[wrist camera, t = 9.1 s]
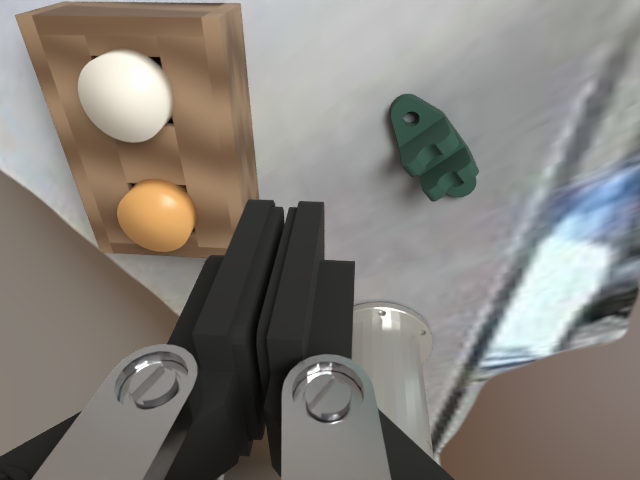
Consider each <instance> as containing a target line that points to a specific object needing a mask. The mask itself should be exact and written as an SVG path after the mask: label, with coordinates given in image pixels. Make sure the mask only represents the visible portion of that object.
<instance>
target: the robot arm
mask: <svg viewBox="0 0 640 480" xmlns="http://www.w3.org/2000/svg"><path fill="white" fill-rule="evenodd" d="M354 275H355V261H335V260H324V202H309V201H299V203H298V207H290V208H289V210H288V214H287V218H286V222H285V224H284V210H283V207H275V203H274V201H273V200H254V199H249V200H248V201H247V203H246V206H245V208H244V210H243V213H242V215H241V218H240V220H239V222H238V225H237V227H236V229H235V232H234V234H233V237H232V239H231V241H230V244H229V246H228V249H227V251H226V253H225V255H210V256H209V257H208V258H207V260H206V262H205V264H204V266H203V268H202V270H201V272H200V275H199V277H198V279H197V281H196V283H195V285H194V287H193V290H192V292H191V294H190V296H189V298H188V300H187V303H186V305H185V307H184V309H183V311H182V313H181V315H180V318H179V320H178V322H177V324H176V326H175V328H174V330H173V333H172V335H171V337H170V339H169V341H168V343H167V344H160V345H154V346H148V347H146V348H143V349H141V350H138V351H136V352H134V353H132V354H131V355H129V356H128V357H126V358H125V359H123V360H122V361H121V362H120V363H119V364H118V365H117V366H116V367H115V368H114V369H113V370H112V372H111V373H110V374H109V376H108V377H107V378H106V380H105V381H104V382H103V384H102V385H101V386H100V388H99V389H98V391H97V392H96V393H95V394H94V396H93V397H92V398H91V400H90V401H89V403H88V404H87V405H86V407H85V408H84V409H83V411H81V412H79V413H77V414H76V415H74V416H72V417H70V418H68V419H67V420H65V421H63V422H61V423H60V424H58V425H56V426H54V427H52V428H50V429H49V430H47V431H45V432H43V433H42V434H40V435H38V436H36V437H35V438H33V439H31V440H29V441H27V442H25V443H24V444H22V445H20V446H18V447H17V448H15V449H13V450H11V451H9V452H8V453H6V454H4V455H2V456H0V480H223V478H224V473H225V472H227V471H228V470H229V469H230V468H232V467H233V466H234V465H236V464H237V463H238V459H239V455H241V456H250V452H251V448H252V443H253V440H262V438H263V435H264V430H265V425H266V426H267V433H268V441H269V448H270V455H271V462H272V466H273V468H274V469H275V471H276V472H277V473H278V475H279V476H280V477H281V480H454V479H453V478H452V477H451V476H450V475H449V474H448V473H447V472H446V471H445V470H444V469H443V468H442V467H440V466H439V465H438V464H437V463H436V462H435V461H434V459H433V451H432V442H431V434H430V426H429V418H428V410H427V402H426V394H425V386H424V378H423V370H422V365H423V364H424V363H425V362H426V361H427V359H428V358H429V356H430V354H431V351H432V347H433V340H432V334H431V331H430V328H429V326H428V325H427V323H426V322H425V320H424V319H423V318H422V317H420V316H419V315H418V314H417V313H415V312H413V311H412V310H410V309H408V308H405V307H403V306H400V305H396V304H392V303H383V302H374V303H365V304H360V305H357V306H354V307H353V305H354Z"/></svg>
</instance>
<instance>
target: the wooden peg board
mask: <svg viewBox="0 0 640 480" xmlns="http://www.w3.org/2000/svg"><path fill="white" fill-rule="evenodd" d="M15 17H16V20H17V23H18V26H19V28H20V31H21V34H22V37H23V39H24V42H25V45H26V48H27V50H28V53H29V56H30V59H31V61H32V64H33V67H34V70H35V72H36V75H37V78H38V81H39V83H40V86H41V89H42V92H43V94H44V97H45V100H46V103H47V105H48V108H49V111H50V114H51V116H52V119H53V122H54V125H55V127H56V130H57V133H58V136H59V138H60V141H61V144H62V147H63V149H64V152H65V155H66V158H67V160H68V163H69V166H70V169H71V171H72V174H73V177H74V180H75V182H76V185H77V188H78V191H79V193H80V196H81V199H82V202H83V205H84V207H85V210H86V213H87V216H88V218H89V221H90V224H91V227H92V229H93V232H94V235H95V238H96V240H97V243H98V246H99V249H100V251H101V252H103V253H123V254H143V255H162V256H182V257H202V258H208V257H209V256H210V255H225V253H226V251H227V249H228V246H229V244H230V241H231V239H232V237H233V234H234V232H235V229H236V227H237V225H238V222H239V220H240V218H241V215H242V213H243V210H244V208H245V206H246V203H247V201H248V200H249V199H254V200H259V193H258V182H257V172H256V161H255V151H254V140H253V130H252V119H251V109H250V98H249V88H248V77H247V67H246V56H245V46H244V35H243V25H242V14H241V4H240V3H149V2H61V3H57V4H53V5H50V6H46V7H43V8H39V9H35V10H32V11H28V12H24V13H21V14H17V15H15ZM115 49H131V50H135V51H138V52H140V53H142V54H144V55H146V56H148V57H160V59H161V64H162V69H163V71H164V72H165V73H166V75H167V76H168V78H169V80H170V82H171V85H172V87H173V91H174V96H175V107H174V112H173V114H172V117H171V118H170V120H169V121H168V122H167V123H166V124H165V125H164V127H163V128H162V129H161V130H160V131H159V132H158V133H157V134H156V135H155V136H153V137H152V138H150V139H148V140H146V141H143V142H134V143H132V142H125V141H121V140H118V139H115V138H113V137H111V136H109V135H107V134H106V133H104V132H103V131H102V130H100V129H99V128H98V127H97V126H96V125H95V124H94V123H93V122H92V121H91V120H90V118H89V117H88V116H87V114H86V113H85V111H84V109H83V107H82V104H81V102H80V99H79V94H78V80H79V76H80V73H81V71H82V69H83V68H84V67H85V65H86V64H88V63H89V62H90V61H92V60H93V59H95V58H97V57H99V56H101V55H103V54H105V53H107V52H109V51H111V50H115ZM146 179H162V180H166V181H169V182H171V183H174V184H175V185H186V188H187V193H188V195H189V196H190V198H191V199H192V200H193V202H194V204H195V206H196V210H197V223H196V225H195V227H194V229H193V231H192V233H191V234H190V236H189V238H188V240H187V241H186V243H185V244H184V245H183V246H182V247H180V248H178V249H176V250H174V251H169V252H158V251H152V250H149V249H146V248H144V247H142V246H140V245H138V244H137V243H135V242H134V241H132V240H131V239H130V238H129V237H128V236H127V235H126V234H125V232H124V231H123V230H122V228H121V226H120V224H119V221H118V217H117V209H118V205H119V203H120V201H121V200H122V199H123V198H124V196H125V195H126V194H127V193H128V192H129V191H130V189H131V188H132V187H133V186H134V185H135V184H137V183H138V182H140V181H142V180H146Z"/></svg>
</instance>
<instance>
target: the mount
mask: <svg viewBox="0 0 640 480" xmlns="http://www.w3.org/2000/svg"><path fill="white" fill-rule="evenodd" d="M411 111H413V112H416V113H417V114H418V118H417V119H416V120H415V121H414V122H410V123H409V122H406V121H404V120H403V117H404V115H405V114H406V113H408V112H411ZM390 114H391V120H392V124H393V127H394V131H395V135H396V138H397V142H398V145H399V150H400V157H401V164H402V166H403V167H404V168H405V169H406V171H407V172H408V173H409V174H410V176H416V175H419V176H420V181H421V186H422V190H423V192H424V193H425V194H426V195H427V196H428V198H429V199H430V200H431V201H437V200H439V199H440V198H442V197H444V196H445V195H446V193H447V194H449V195H451V196H453V197H464V196H467V195H468V194H470V193H471V192H472V191H473V190H474V188H475V186H476V177H475V176H476V175H477V174H478V172H479V170H478V168H477V165H476V163H475V161H474V159H473V156H472V154H471V152H470V150H469V148H468V146H467V145H466V144H465V142H464V141H463V139H462V138H461V137H460V135H459V134H458V132H457V131H456V130H455V128H454V127H453V125H452V124H451V123H450V121H449V120H448V118H447V117H446V116H445V114H444V113H443V112H442V111H440V110H439V109H437V108H435V107H434V106H432V105H430V104H429V103H427V102H425V101H424V100H422V99H420V98H419V97H417V96H415V95H413V94H403V95H400V96H399V97H397V98H396V99H395V100H394V101H393V103H392V105H391V108H390Z"/></svg>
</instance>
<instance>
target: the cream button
mask: <svg viewBox="0 0 640 480" xmlns="http://www.w3.org/2000/svg"><path fill="white" fill-rule="evenodd" d="M78 94H79V99H80V102H81V104H82V107H83V109H84V111H85V113H86V114H87V116H88V117H89V118H90V120H91V121H92V122H93V123H94V124H95V125H96V126H97V127H98V128H99V129H100V130H102V131H103V132H104V133H106V134H107V135H109V136H111V137H113V138H115V139H118V140H121V141H125V142H132V143H134V142H143V141H146V140H148V139H150V138H152V137H153V136H155V135H156V134H157V133H158V132H159V131H160V130H161V129H162V128H163V127H164V125H165V124H166V123H167V122H168V121H169V120H170V118H171V117H172V114H173V112H174V107H175V96H174V91H173V87H172V85H171V82H170V80H169V78H168V76H167V75H166V73H165V72H164V71H163V69H162V64H161V59H160V57H148V56H146V55H144V54H142V53H140V52H138V51H135V50H131V49H115V50H111V51H109V52H107V53H105V54H103V55H101V56H99V57H97V58H95V59H93V60H92V61H90V62H89V63H88V64H86V65H85V67H84V68H83V69H82V71H81V73H80V76H79V80H78Z"/></svg>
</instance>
